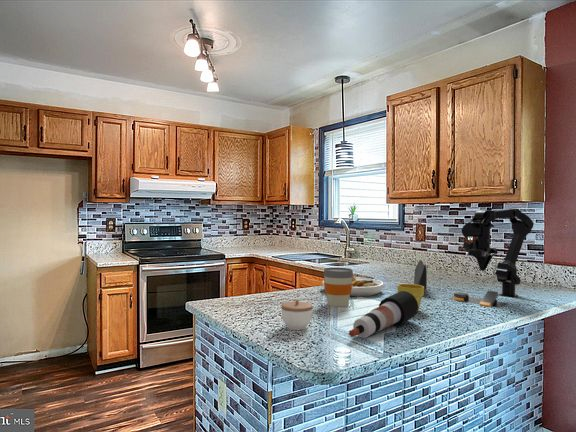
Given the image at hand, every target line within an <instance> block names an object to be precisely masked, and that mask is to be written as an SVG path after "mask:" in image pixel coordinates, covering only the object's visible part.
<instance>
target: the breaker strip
mask: <svg viewBox="0 0 576 432" xmlns="http://www.w3.org/2000/svg"><path fill="white" fill-rule="evenodd" d="M482 299H483V298H477V297H472V296H471V297H470V295H469V293H467V292H466V293H465V292H458V291H457V292H454V293H453V296H452V297H449V298H447V300H453V301H458V302H459V301H460V302H464V303H470V304H477V305H480V304H479V303H480V302H481V301H482ZM508 305H509V303H508V302H502V301H498V299H496V300H495V302H494V303H493V305H492V306H491V308H492V307H493V308H498V309H499V308H501V307H502V308H503V307H505V306H508Z"/></svg>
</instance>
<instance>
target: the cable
mask: <svg viewBox="0 0 576 432" xmlns="http://www.w3.org/2000/svg"><path fill="white" fill-rule="evenodd" d="M418 313H419V312H418V303H417V300H416V299H415V297H414V296H413V295H412V294H410V293H409V292H406V291H400V292H398V291H397V292H396V293H394V294H391V295H389V296H387V297H385V298H384V299H382V300H381V301H380V303H379V305H378V306H377V307H375V308H374V309H372V310H370V311H369V312H368V313H365V314H364V315H363V316H361V317H360V318H357V319H355V320H354V322H353V325H352V327H353V328H351V329H350V330H349V331H348V335H349V336H350V338H354V337H356V336H358V337H359V338H363V339H366V338H369V336H371V335H374V334H375V333H378V332H381V331H382V330H385V329H387V328H388V327H389V326H392V327H395V328H396V327H399V326H401V325H403V324H404V323H406V322H408V321H410V320H411V319H413V318H414V317H416V316H417V314H418Z"/></svg>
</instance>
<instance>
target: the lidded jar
mask: <svg viewBox="0 0 576 432" xmlns="http://www.w3.org/2000/svg"><path fill="white" fill-rule="evenodd" d="M280 307H281V318H282V321H283V323H284V325H285V326H286V327H287V328H288V330H293V331H302V330H305V329H306V328H307V327H308V326H309V325H310V323H311V321H312V317H313V309H314V305H313V303H310V302H306V301H299V299H295V301H287V302H283V303H282V304H281V306H280Z"/></svg>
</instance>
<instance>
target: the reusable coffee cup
mask: <svg viewBox="0 0 576 432" xmlns="http://www.w3.org/2000/svg"><path fill="white" fill-rule="evenodd" d="M353 276H354V273H353V269H352V268H348V267H326V268H324V269H323V277H324V278H325V282H324V286H325V289H324V293H325V295H326V304H327V305H328V306H329V307H333V308H334V307H335V308H345V307H349V305H350V303H349V302H350V297H351V296H350V294H351V290H352V277H353ZM324 278H323V279H324Z"/></svg>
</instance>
